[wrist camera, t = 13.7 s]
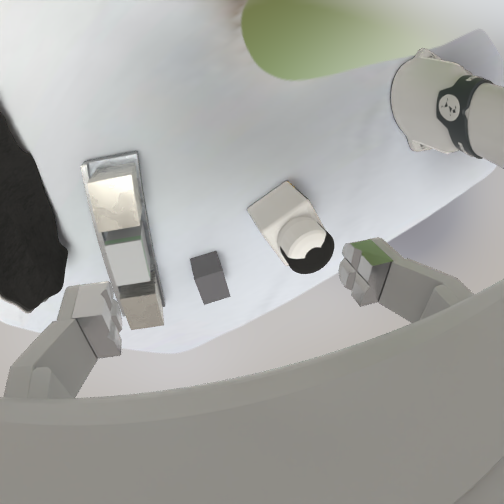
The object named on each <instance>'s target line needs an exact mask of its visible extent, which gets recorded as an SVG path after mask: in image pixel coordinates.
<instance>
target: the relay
mask: <svg viewBox="0 0 504 504" xmlns="http://www.w3.org/2000/svg"><path fill="white" fill-rule="evenodd" d="M190 260H191V265H192V270H193V275H194V280H195V282H196V285H197V287H198V290H199V293H200V295H201V298H202V300H203V303H204V305H205V304H208V303H211V302H215V301H218V300H221V299H224V298H227V297H230V293H229V290H228V287H227V283H226V280H225V277H224V273H223V270H222V267H221V264H220V261H219V258H218V255H217V252H216V251H214V252H211V253H208V254H204V255H201V256H198V257H195V258H191V259H190Z"/></svg>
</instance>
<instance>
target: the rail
mask: <svg viewBox="0 0 504 504" xmlns="http://www.w3.org/2000/svg"><path fill="white" fill-rule="evenodd" d="M80 167H81V172H82V177H83V182H84V187H85V191H86V196H87V200H88V205H89V209H90V213H91V217H92V221H93V225H94V228H95V232H96V236H97V239H98V243H99V246H100V250H101V253H102V256H103V260H104V263H105V266H106V269H107V272H108V275H109V278H110V281H111V284H112V287H113V290H114V293H115V296H116V298H117V301H118V304H119V306H120V309H121V312H122V314H123V316H126V318H127V321H128V323H129V326H130V328H131V330H134V329H142V328H149V327H155V326H162V325H164V318H163V307H165V299H164V295H163V291H162V287H161V282H160V278H159V274H158V269H157V264H156V260H155V255H154V250H153V245H152V240H151V235H150V229H149V224H148V218H147V213H146V207H145V200H144V194H143V188H142V181H141V174H140V166H139V159H138V151H136V152H130V153H124V154H118V155H113V156H108V157H103V158H98V159H93V160H88V161H85V162H84V163H83V164H82V165H81V166H80ZM141 221H143V227H144V232H145V237H146V242H147V247H148V251H149V256H150V281H148V282H141V283H135V284H128V285H122V286H117V285H116V282H115V279H114V276H113V273H112V270H111V267H110V263H109V260H108V257H107V253H106V250H105V247H104V246H105V241H106V238H107V234H108V231H112V230H118V229H124V228H130V227H136V226H140V222H141Z"/></svg>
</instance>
